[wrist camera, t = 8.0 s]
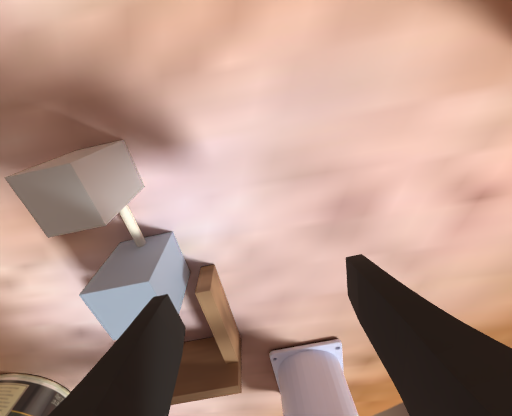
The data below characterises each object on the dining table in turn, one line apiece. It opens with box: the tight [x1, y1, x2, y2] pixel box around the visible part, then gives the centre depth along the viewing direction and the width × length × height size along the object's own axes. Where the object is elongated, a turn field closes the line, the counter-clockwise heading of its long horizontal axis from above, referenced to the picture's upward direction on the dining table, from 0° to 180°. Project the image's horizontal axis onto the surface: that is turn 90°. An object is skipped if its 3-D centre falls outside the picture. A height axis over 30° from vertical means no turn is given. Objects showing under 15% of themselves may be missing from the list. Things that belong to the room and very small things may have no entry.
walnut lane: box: [117, 264, 241, 405], centre depth 21 cm, size 10×9×5 cm
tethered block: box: [5, 140, 190, 340], centre depth 16 cm, size 12×4×6 cm, turn 12°
